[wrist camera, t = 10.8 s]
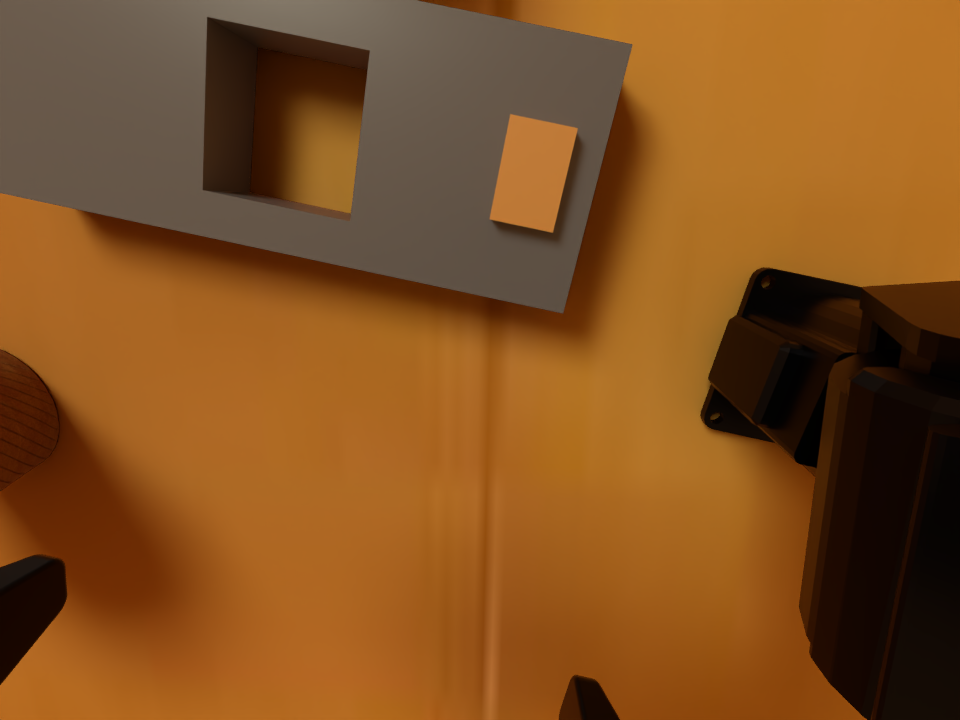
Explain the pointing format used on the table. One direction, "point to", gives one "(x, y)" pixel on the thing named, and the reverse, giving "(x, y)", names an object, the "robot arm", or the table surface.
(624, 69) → the grey flat block
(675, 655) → the table surface
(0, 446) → the disposable coffee cup
